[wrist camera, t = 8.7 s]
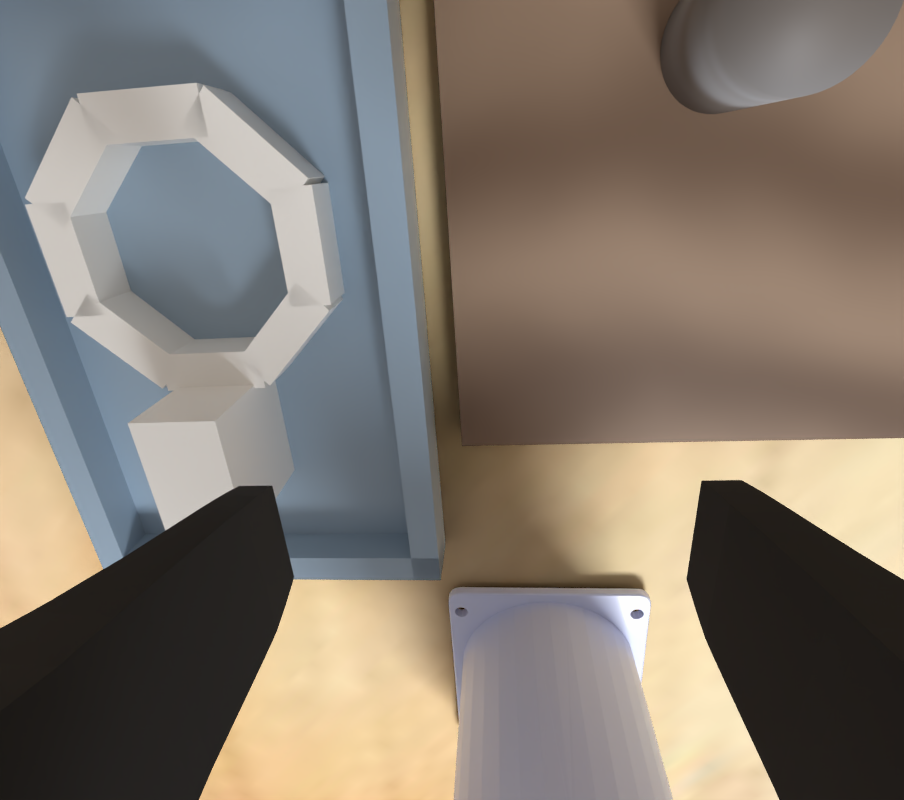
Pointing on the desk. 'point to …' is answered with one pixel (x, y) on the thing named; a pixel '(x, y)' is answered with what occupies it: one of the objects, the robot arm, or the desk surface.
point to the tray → (237, 264)
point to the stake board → (675, 218)
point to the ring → (149, 332)
